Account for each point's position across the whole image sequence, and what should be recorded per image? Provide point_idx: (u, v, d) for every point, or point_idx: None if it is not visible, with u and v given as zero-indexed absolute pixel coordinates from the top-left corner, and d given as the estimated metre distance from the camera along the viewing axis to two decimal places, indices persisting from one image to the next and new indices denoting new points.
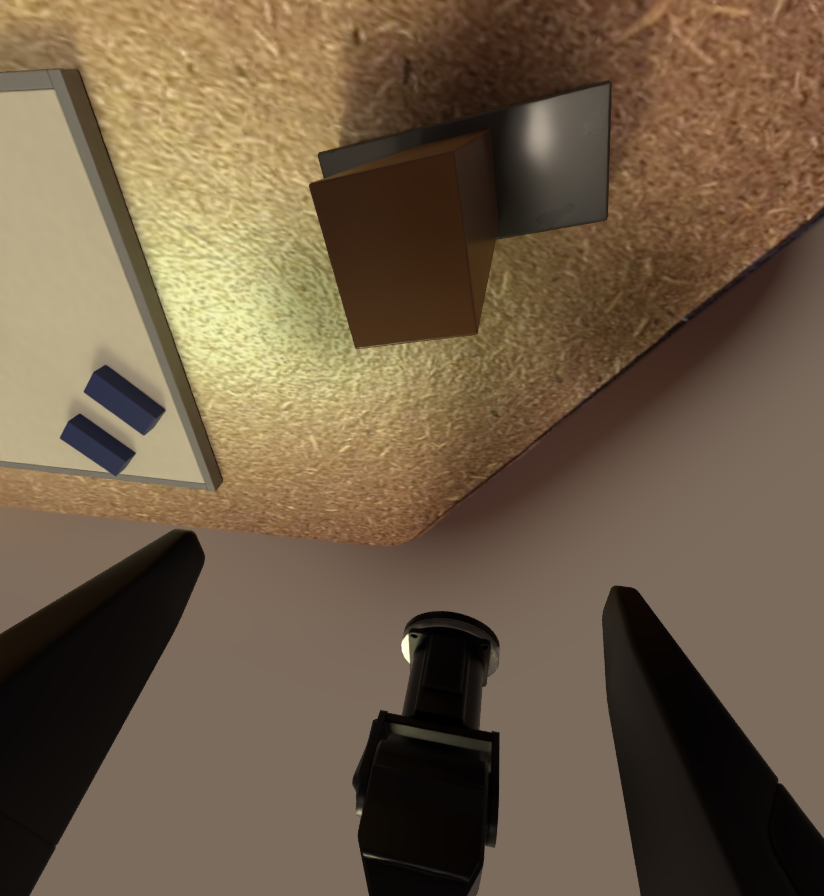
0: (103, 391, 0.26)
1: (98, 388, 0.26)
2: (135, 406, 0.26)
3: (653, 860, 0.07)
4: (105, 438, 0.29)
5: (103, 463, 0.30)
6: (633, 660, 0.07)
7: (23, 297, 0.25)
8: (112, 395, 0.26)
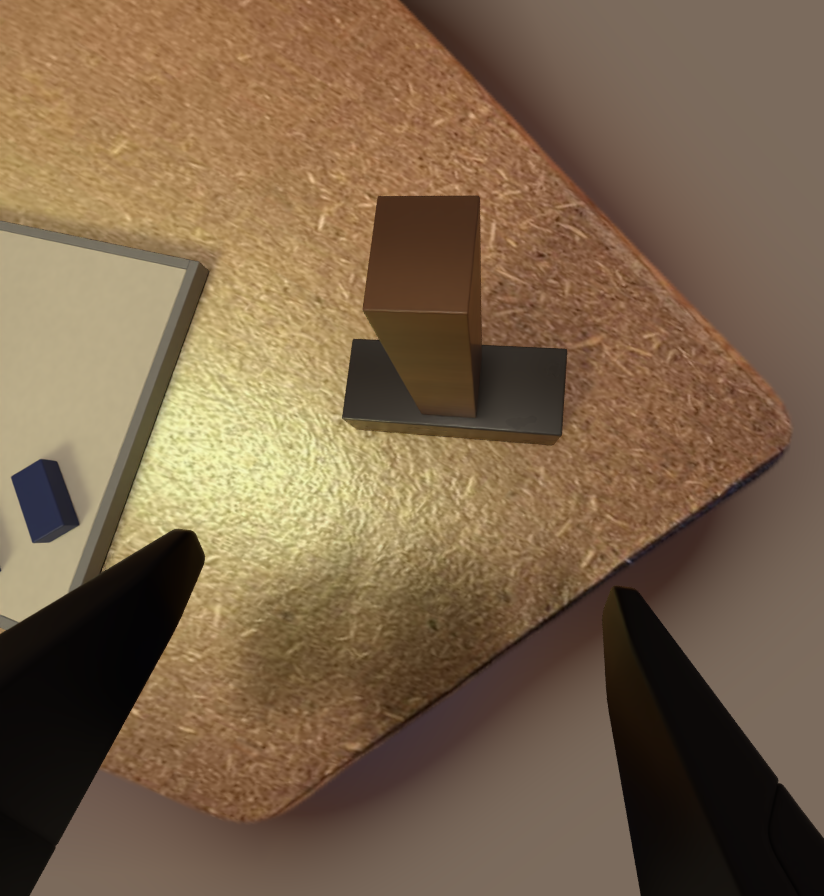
0: (32, 480, 0.24)
1: (30, 476, 0.24)
2: (52, 505, 0.24)
3: (653, 860, 0.07)
4: None
5: None
6: (633, 660, 0.07)
7: (34, 384, 0.26)
8: (38, 487, 0.24)
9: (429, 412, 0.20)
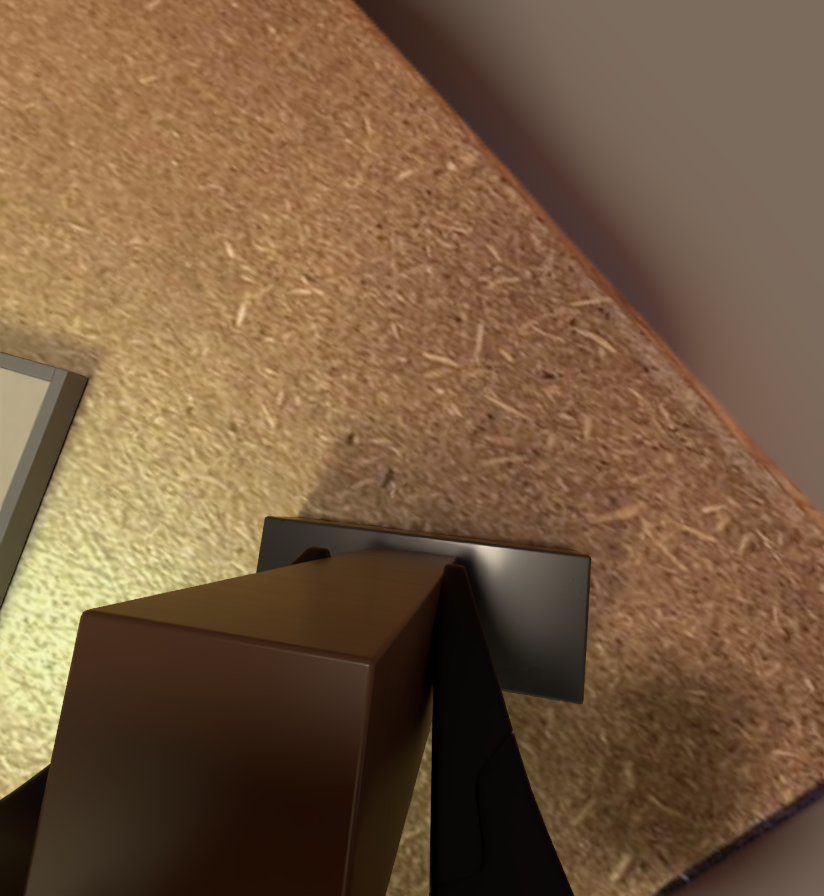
0: None
1: None
2: None
3: None
4: None
5: None
6: None
7: None
8: None
9: None
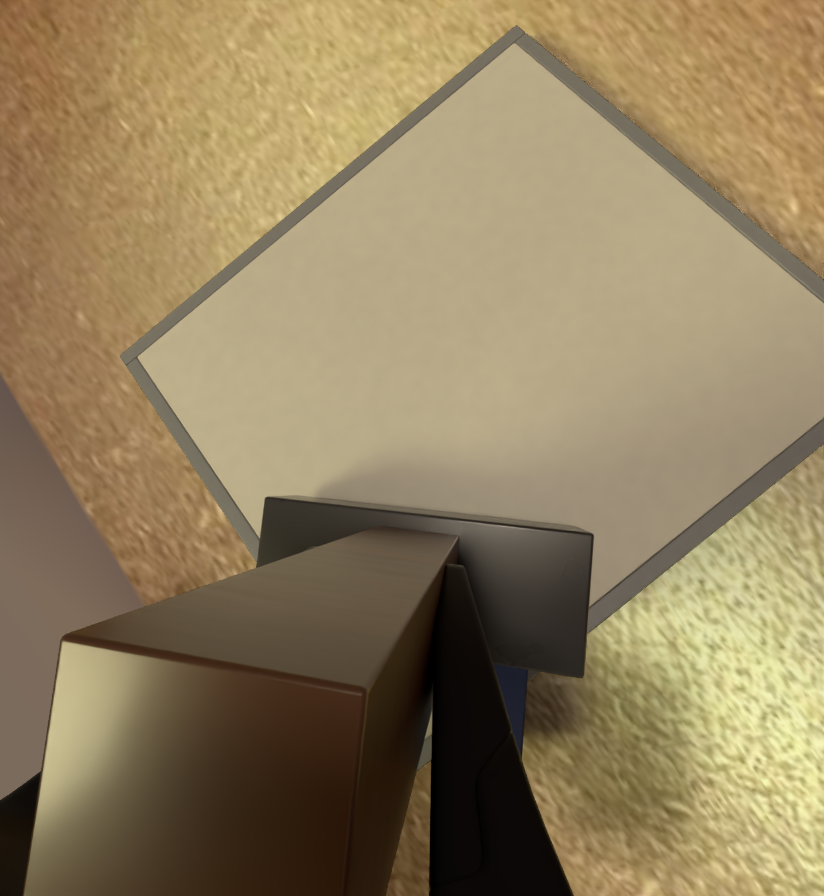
0: (500, 678, 0.14)
1: (499, 667, 0.15)
2: None
3: None
4: None
5: None
6: None
7: (549, 378, 0.17)
8: (505, 695, 0.14)
9: None
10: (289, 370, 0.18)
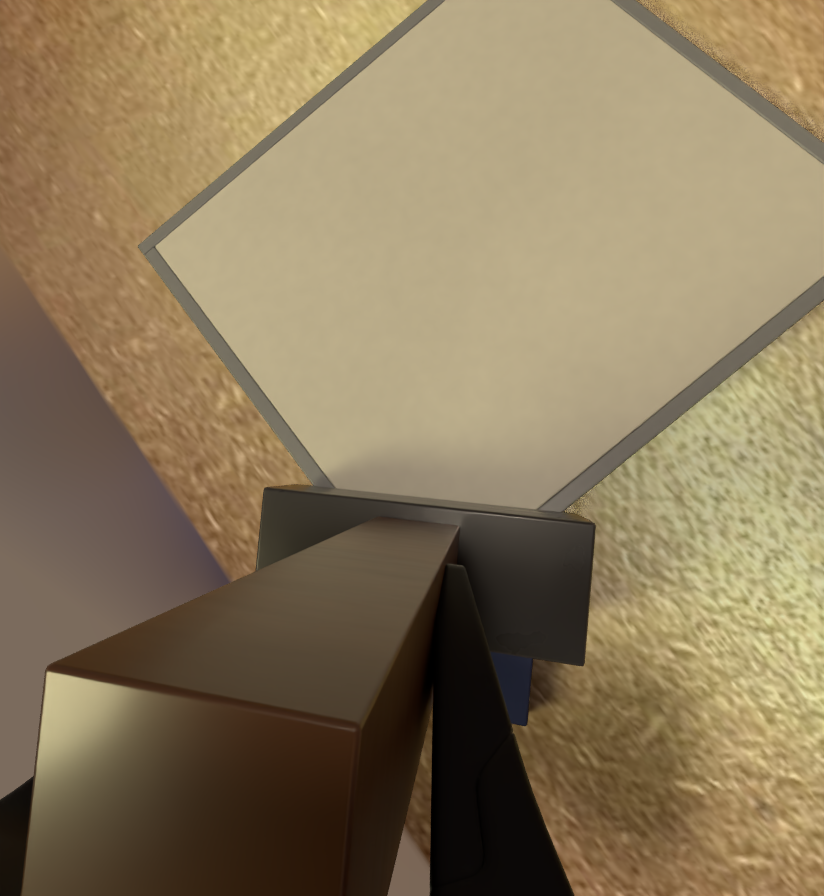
0: None
1: None
2: (523, 685, 0.15)
3: None
4: None
5: None
6: None
7: (559, 248, 0.17)
8: None
9: None
10: (304, 252, 0.19)
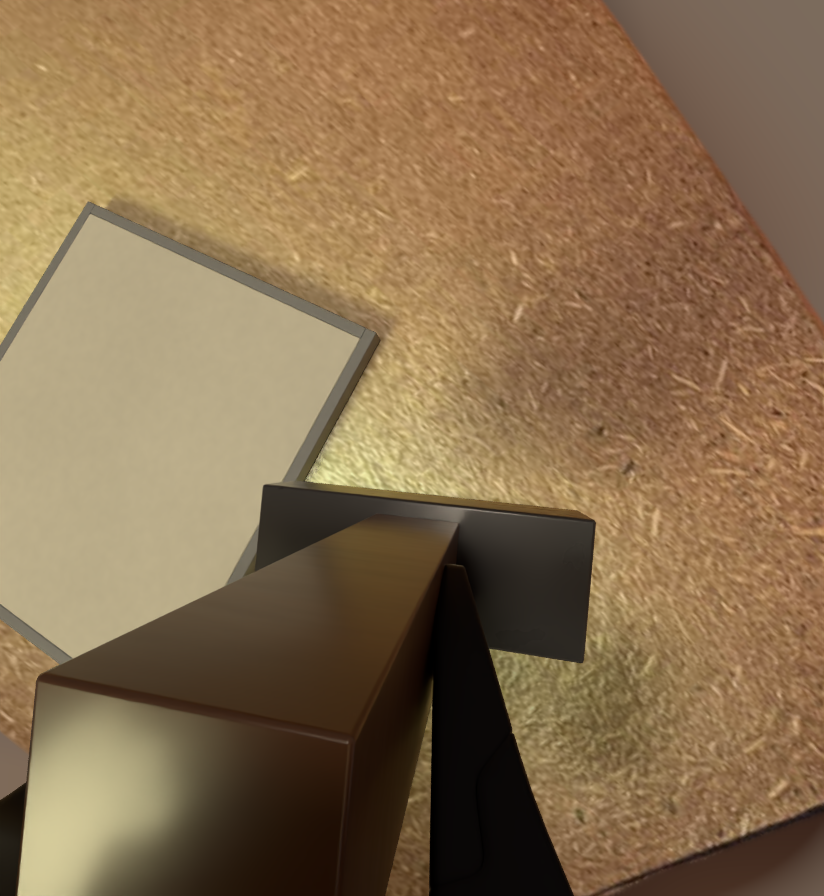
0: None
1: None
2: None
3: None
4: None
5: None
6: None
7: (171, 429, 0.24)
8: None
9: None
10: (6, 493, 0.25)
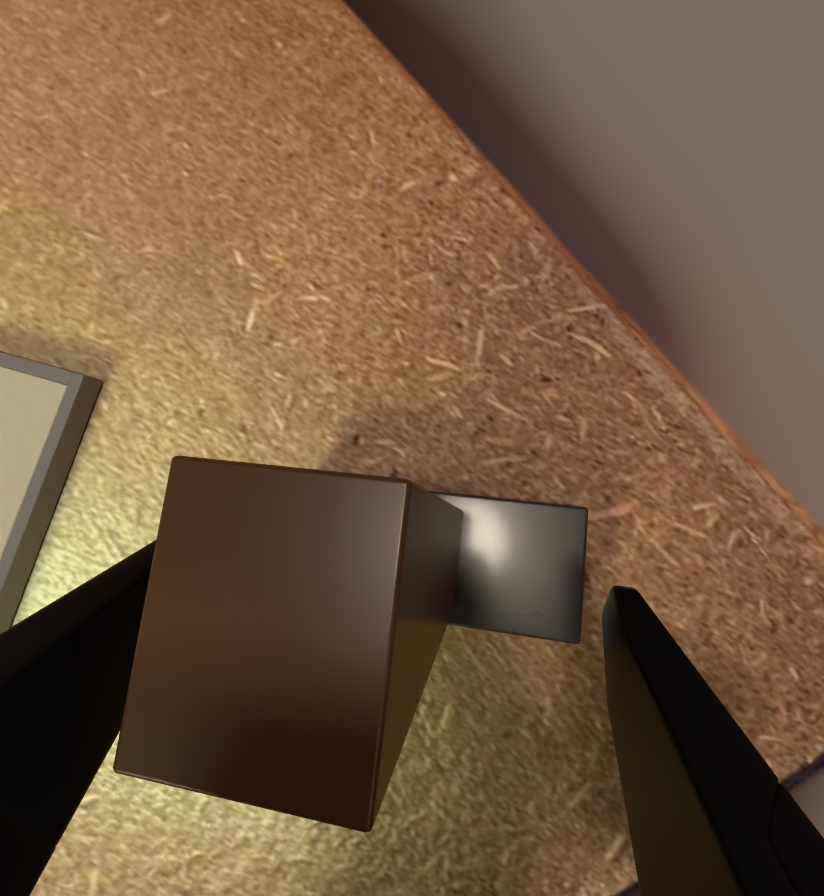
0: None
1: None
2: None
3: (653, 860, 0.07)
4: None
5: None
6: (633, 660, 0.07)
7: None
8: None
9: None
10: None
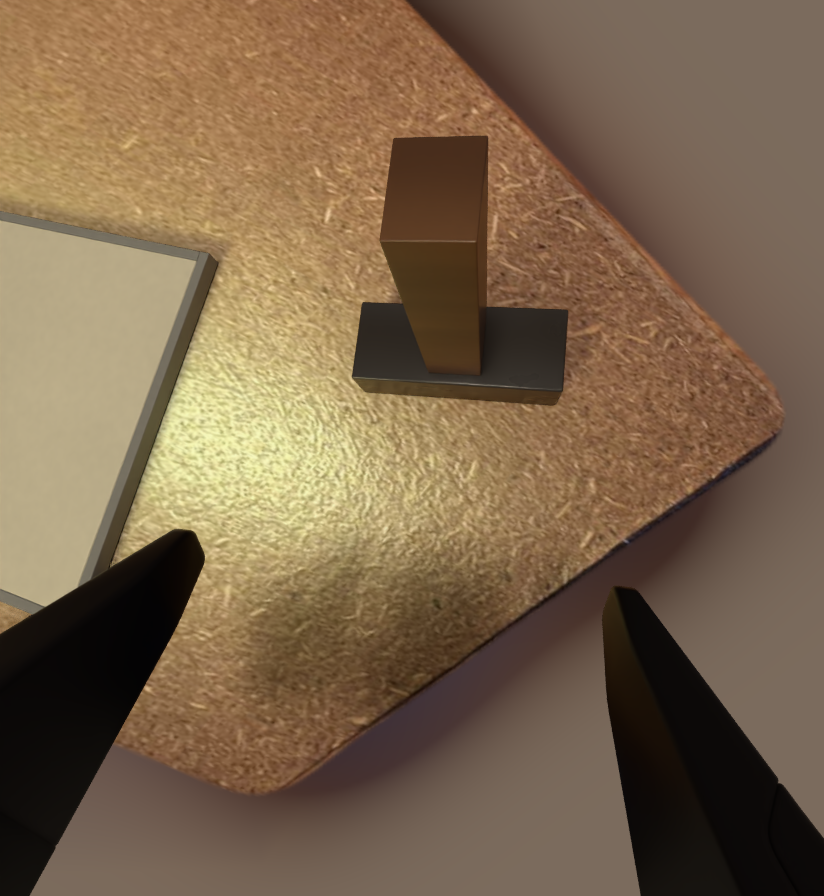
0: None
1: None
2: None
3: (653, 860, 0.07)
4: None
5: None
6: (633, 660, 0.07)
7: (48, 372, 0.27)
8: None
9: (436, 369, 0.21)
10: None
